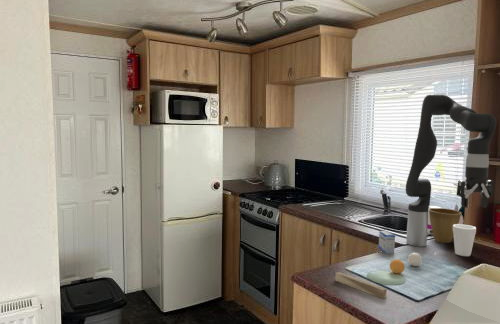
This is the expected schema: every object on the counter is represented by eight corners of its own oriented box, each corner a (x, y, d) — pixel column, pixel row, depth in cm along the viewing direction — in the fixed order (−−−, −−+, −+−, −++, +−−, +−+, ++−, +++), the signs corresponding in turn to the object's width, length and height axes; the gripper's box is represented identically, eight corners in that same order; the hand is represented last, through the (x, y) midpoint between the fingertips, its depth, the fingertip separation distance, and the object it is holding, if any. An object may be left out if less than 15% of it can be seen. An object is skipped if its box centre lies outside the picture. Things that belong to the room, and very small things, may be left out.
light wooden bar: (338, 279, 147) (339, 271, 147) (386, 297, 132) (386, 288, 132) (335, 280, 146) (335, 272, 146) (383, 298, 131) (383, 290, 130)
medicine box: (378, 248, 188) (379, 230, 187) (387, 248, 188) (387, 230, 187) (385, 253, 180) (386, 235, 179) (394, 253, 180) (395, 235, 180)
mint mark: (361, 271, 156) (361, 271, 156) (395, 271, 157) (395, 270, 157) (375, 285, 142) (375, 284, 142) (412, 284, 143) (412, 284, 143)
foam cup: (469, 258, 174) (471, 230, 173) (448, 253, 181) (449, 226, 180) (477, 254, 180) (479, 226, 179) (456, 249, 187) (457, 223, 186)
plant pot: (442, 246, 193) (443, 214, 191) (421, 238, 207) (422, 208, 206) (466, 244, 196) (468, 213, 195) (444, 236, 211) (446, 207, 209)
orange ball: (387, 270, 157) (387, 257, 157) (400, 270, 158) (400, 257, 157) (393, 275, 152) (393, 262, 151) (406, 275, 152) (407, 262, 152)
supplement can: (443, 235, 212) (444, 208, 211) (427, 234, 214) (428, 207, 212) (439, 232, 220) (440, 205, 219) (423, 231, 222) (424, 205, 220)
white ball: (405, 263, 166) (405, 251, 166) (417, 263, 167) (418, 250, 166) (411, 268, 161) (412, 255, 160) (424, 268, 161) (424, 255, 161)
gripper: (485, 164, 154) (482, 204, 156) (453, 164, 151) (451, 205, 153) (501, 166, 147) (497, 208, 148) (467, 166, 144) (465, 209, 146)
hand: (474, 207), depth 151 cm, fingers open, 8 cm apart
